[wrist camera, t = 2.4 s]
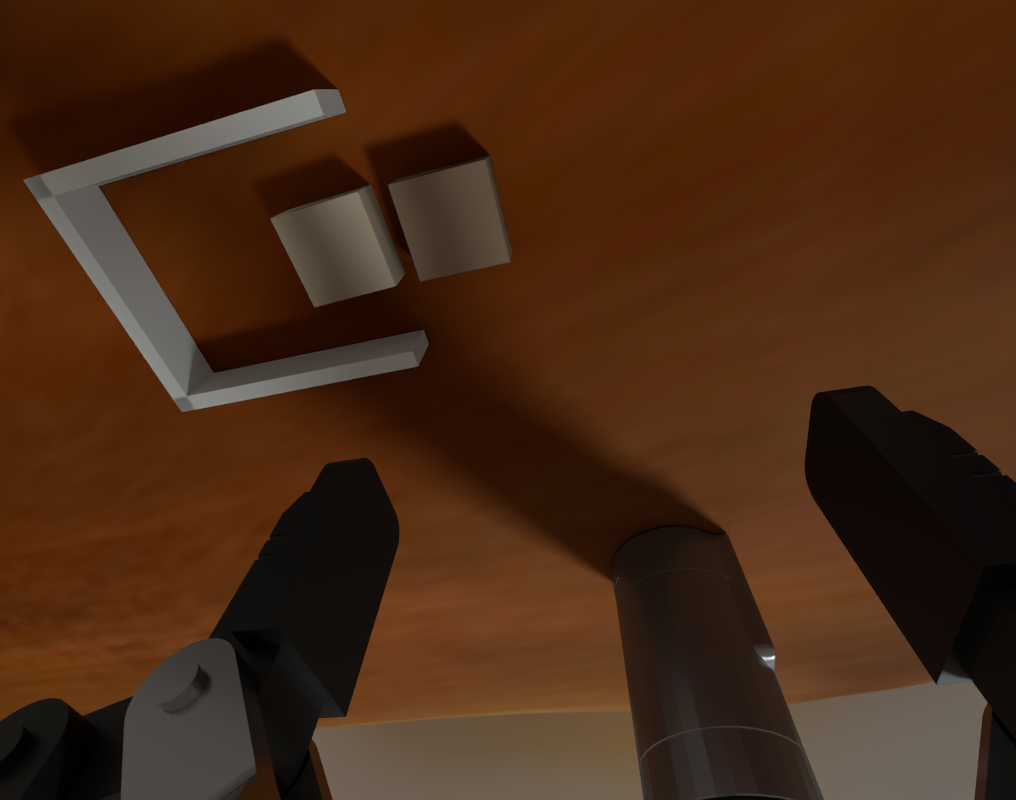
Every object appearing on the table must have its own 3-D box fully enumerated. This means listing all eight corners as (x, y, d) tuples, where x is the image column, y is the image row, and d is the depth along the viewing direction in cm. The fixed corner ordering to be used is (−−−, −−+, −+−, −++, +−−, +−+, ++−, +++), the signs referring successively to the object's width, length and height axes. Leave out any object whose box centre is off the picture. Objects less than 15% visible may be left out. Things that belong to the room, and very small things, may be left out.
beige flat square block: (490, 154, 26) (485, 159, 24) (512, 249, 28) (509, 262, 26) (400, 177, 27) (387, 184, 25) (429, 268, 29) (420, 281, 27)
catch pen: (338, 89, 25) (313, 89, 22) (428, 343, 32) (418, 366, 29) (71, 171, 27) (22, 179, 25) (208, 388, 34) (181, 412, 32)
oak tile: (372, 183, 27) (357, 191, 25) (406, 271, 30) (395, 286, 27) (290, 208, 28) (269, 218, 26) (330, 292, 30) (314, 307, 28)
